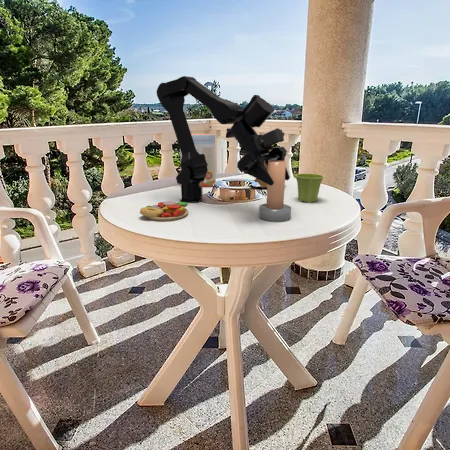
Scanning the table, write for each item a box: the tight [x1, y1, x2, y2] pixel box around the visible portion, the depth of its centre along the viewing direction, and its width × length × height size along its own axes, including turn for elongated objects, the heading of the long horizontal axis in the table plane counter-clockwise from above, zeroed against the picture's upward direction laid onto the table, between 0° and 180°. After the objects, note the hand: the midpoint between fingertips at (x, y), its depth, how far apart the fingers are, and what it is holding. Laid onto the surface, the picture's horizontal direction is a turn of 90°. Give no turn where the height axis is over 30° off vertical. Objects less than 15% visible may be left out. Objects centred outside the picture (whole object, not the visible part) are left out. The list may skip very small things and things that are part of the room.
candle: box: [266, 160, 287, 209], centre depth 92 cm, size 5×5×13 cm
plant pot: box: [294, 173, 325, 203], centre depth 113 cm, size 9×9×9 cm
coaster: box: [258, 203, 292, 223], centre depth 95 cm, size 9×9×3 cm
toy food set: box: [139, 200, 189, 222], centre depth 97 cm, size 13×13×3 cm
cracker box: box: [179, 133, 217, 188], centre depth 134 cm, size 14×6×21 cm, turn 98°
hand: (280, 181), depth 91 cm, fingers open, 9 cm apart
